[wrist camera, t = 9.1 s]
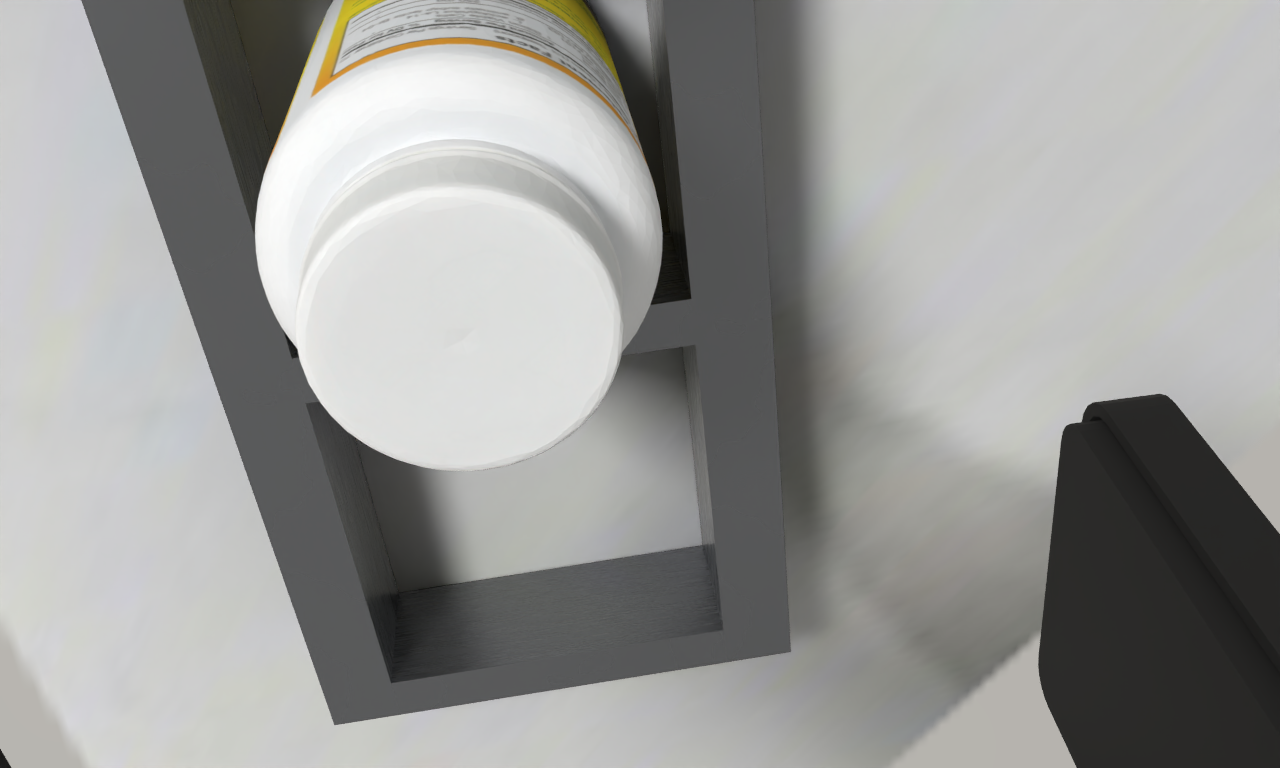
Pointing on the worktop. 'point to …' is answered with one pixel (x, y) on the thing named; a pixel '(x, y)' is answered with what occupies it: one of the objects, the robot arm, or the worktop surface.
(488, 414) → the supplement bottle
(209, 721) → the worktop surface
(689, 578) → the dark grey divided tray
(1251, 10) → the worktop surface
